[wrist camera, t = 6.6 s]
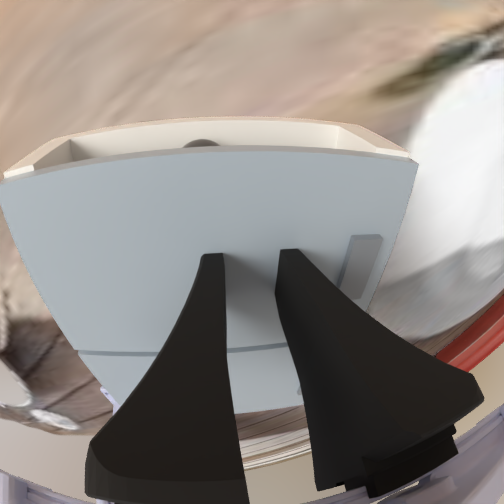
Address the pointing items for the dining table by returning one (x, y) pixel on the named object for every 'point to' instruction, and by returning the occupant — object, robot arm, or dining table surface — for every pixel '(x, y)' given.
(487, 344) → the plant saucer
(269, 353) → the cover
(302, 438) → the dining table surface
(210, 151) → the cover
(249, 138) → the white slotted box
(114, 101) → the dining table surface
